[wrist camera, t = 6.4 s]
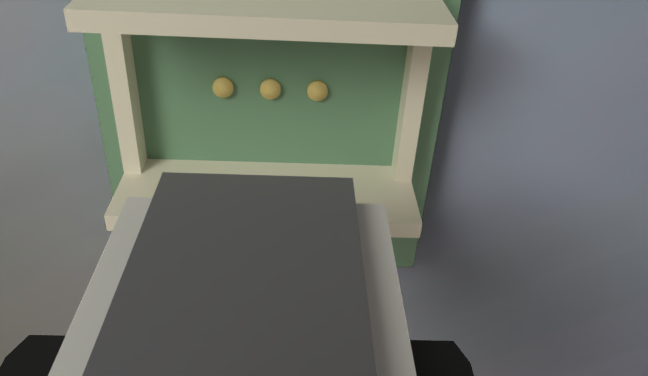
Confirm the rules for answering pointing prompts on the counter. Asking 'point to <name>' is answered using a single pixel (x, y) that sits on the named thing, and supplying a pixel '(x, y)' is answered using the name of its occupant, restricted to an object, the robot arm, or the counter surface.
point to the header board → (272, 93)
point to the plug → (241, 282)
